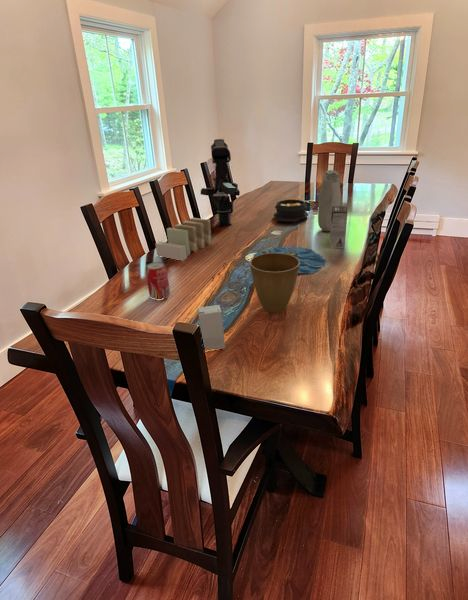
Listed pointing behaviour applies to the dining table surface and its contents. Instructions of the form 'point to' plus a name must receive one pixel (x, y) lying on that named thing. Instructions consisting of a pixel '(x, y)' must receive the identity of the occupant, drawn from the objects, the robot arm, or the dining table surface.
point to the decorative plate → (300, 258)
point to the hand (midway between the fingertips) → (219, 210)
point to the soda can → (157, 280)
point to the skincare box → (211, 327)
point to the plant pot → (274, 279)
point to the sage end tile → (179, 238)
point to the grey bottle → (328, 198)
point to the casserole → (290, 210)
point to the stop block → (171, 250)
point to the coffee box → (338, 226)
